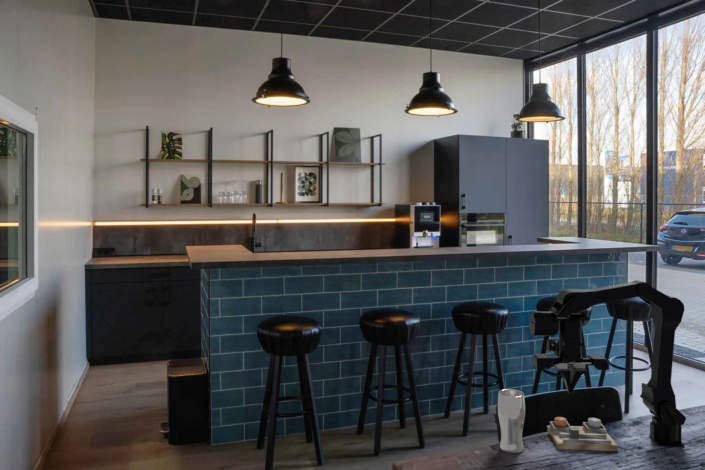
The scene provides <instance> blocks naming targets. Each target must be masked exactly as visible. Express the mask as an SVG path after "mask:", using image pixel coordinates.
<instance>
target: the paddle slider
mask: <svg viewBox="0 0 705 470" xmlns="http://www.w3.org/2000/svg"><path fill="white" fill-rule="evenodd" d="M569 438H572V439H579V430H578V428H577V427H569Z"/></svg>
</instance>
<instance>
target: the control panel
mask: <svg viewBox="0 0 705 470" xmlns="http://www.w3.org/2000/svg"><path fill="white" fill-rule="evenodd" d="M569 427H577V428H578V430H579V439H572V438H569ZM546 429H547V430H546V431H547V432H548V434H549V435H550V434H551V435H552V438H553V440H554V441H553V440H552V441H553V443H554V442H555V443H554V445H555V444H556V445H555V447H556V448H557V449H558V450H574V451H575V450H577V451H578V450H580V451H602V452H603V451H605V452H607V451H609V452H618V449H619V448H618V446H619V445H618V444H617V442H615V440H614V439H613V438H612V437H611V435H610V434H609V433H608V432H607V428H606V427H605V426H604V425H603V423H601V427H600V428H593V427H590V426H588V421H587V422H586V421H583V422H582V426H580V425H574V426H573V425H570V423H569V422H568V421H567V426H566V427H558V426H556V425H555V420H554V421H553V420H551V421H549V425H546ZM552 438H551V439H552Z"/></svg>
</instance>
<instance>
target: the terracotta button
mask: <svg viewBox="0 0 705 470" xmlns="http://www.w3.org/2000/svg"><path fill="white" fill-rule="evenodd" d="M554 421H555V425H556V426H558V427H566V426H567V422H568V420H567V418H565V417H563V416H556V417H554Z"/></svg>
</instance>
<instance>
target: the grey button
mask: <svg viewBox="0 0 705 470" xmlns="http://www.w3.org/2000/svg"><path fill="white" fill-rule="evenodd" d="M587 422H588V426H590V427H593V428H600V427H601V424H602V420H601V419H599V418H596V417H588V419H587Z"/></svg>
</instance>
